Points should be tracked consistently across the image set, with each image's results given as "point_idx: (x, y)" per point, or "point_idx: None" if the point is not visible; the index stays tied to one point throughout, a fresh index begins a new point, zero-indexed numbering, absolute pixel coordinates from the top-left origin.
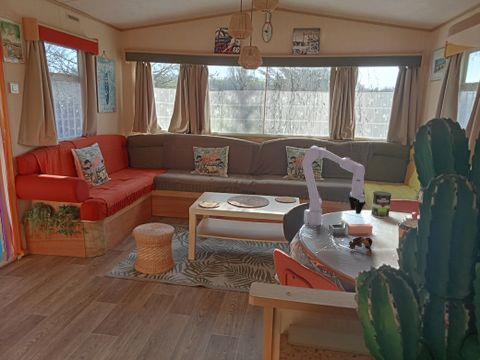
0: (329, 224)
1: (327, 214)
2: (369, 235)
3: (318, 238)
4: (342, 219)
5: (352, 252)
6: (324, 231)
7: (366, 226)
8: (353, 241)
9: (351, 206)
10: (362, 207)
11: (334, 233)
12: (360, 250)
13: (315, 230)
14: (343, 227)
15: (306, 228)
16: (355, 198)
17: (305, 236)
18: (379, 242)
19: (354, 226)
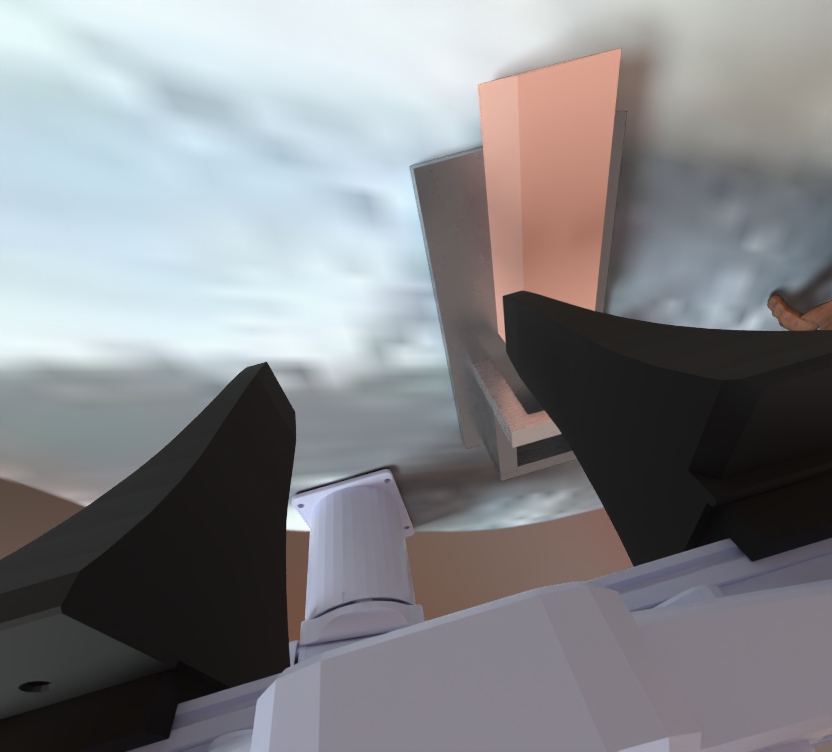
0: (512, 477)
1: (3, 474)
2: (614, 118)
3: (580, 465)
4: (527, 439)
5: (812, 306)
6: (470, 452)
7: (606, 161)
8: (824, 324)
9: (285, 453)
10: (639, 324)
11: None
12: (813, 253)
13: (459, 490)
14: (501, 377)
15: (433, 525)
16: (195, 598)
17: (550, 510)
18: (751, 16)
19: (593, 310)
